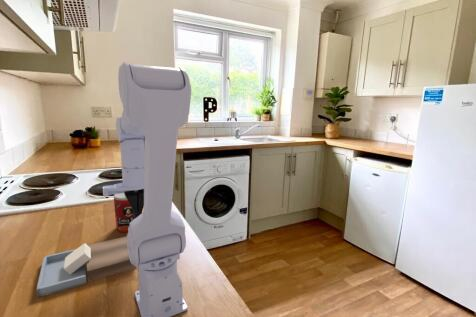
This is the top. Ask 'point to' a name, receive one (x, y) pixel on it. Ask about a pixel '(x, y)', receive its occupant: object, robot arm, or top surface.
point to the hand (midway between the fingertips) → (137, 217)
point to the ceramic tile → (77, 258)
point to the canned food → (122, 212)
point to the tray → (58, 275)
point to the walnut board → (108, 258)
